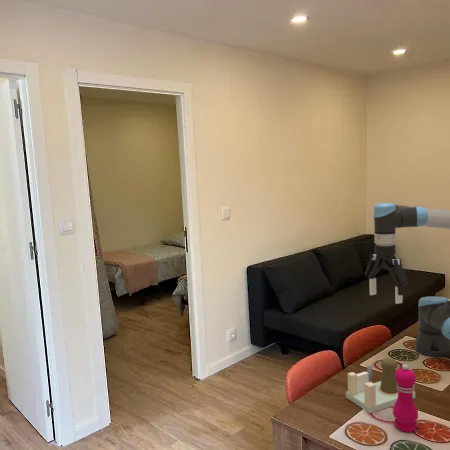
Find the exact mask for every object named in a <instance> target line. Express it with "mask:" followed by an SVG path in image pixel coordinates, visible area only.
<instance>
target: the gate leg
mask: <svg viewBox="0 0 450 450" xmlns="http://www.w3.org/2000/svg"><path fill="white" fill-rule="evenodd" d="M368 382H369V373H367V371H362V372H359V373H355V372H353V371H352V372H348V373H347V391H348V393H349V394H351V395H355V394H357V393H359V392H362V391H364V383H368Z"/></svg>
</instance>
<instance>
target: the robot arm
mask: <svg viewBox="0 0 450 450" xmlns="http://www.w3.org/2000/svg"><path fill="white" fill-rule="evenodd" d="M373 207H374V208H373V222H374V223H373V224H374V226H373V227H374V244H375V245H374V254H373V253H372V254H370V255H369V261H368V263H367V266H366V269H365V272H364V276H365V277H367V278H368V286H369V296H375V295H377V278H376V276H377V274H378V273H379V272H380V271H381V269H384V270H387V272H388V273H389V274H390V276H391V277H392V279H393V280H394V283H395V284H396V286H395V288H394V289H395V290H394V291H395V292H394V293H395V294H394V295H395V296H394V297H395V304H396V305H398V304H403V296H404V291H405V289H404V287H405V286H408V285H409V282H408V279H407V276H406V273H405V271H404V268H403V264H402V259H401V258H398V259H397V258H396V259H395V256H396V249H397V248H396V245H395V244H396V243H397V242H396V239H397V238H396V229H401V228H418V227H426V228H434V229H435V228H436V229H444V230H445V229H446V230H450V210H444V209H436V208H428V207H427V208H426V207H423V206H410V205H409V206H408V205H400V204H395V203H393V202H390V203H389V202H385V203H383V202H381V203H376V204H375V205H374V206H373ZM417 307H418V332H417V335H416V337H415V341H414V344H413V347H414V348H413V349H414V350H415V352H417V353H418V354H421V355H423V356H427V357H432V358H434V357H435V358H447V357H449V356H450V298H448V297H444V296H433V295H432V296H423V297H420V299H419V300H418V305H417Z"/></svg>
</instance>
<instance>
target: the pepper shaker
mask: <svg viewBox="0 0 450 450" xmlns="http://www.w3.org/2000/svg"><path fill="white" fill-rule="evenodd" d="M380 361H381V362H380V364H381V368H382V371H381V380H380V381H381V386H380V390H381V391H382V392H384V393H387V394H395V393H398V390H397V388H396V387H397V385H396V384H397V382H396V380H395V373H396V371H397V370H396V369H397V367H398V363H397V361H396V360H395V359H394V358H390V357H385V358H383V359H381V360H380Z"/></svg>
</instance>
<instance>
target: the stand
mask: <svg viewBox="0 0 450 450" xmlns="http://www.w3.org/2000/svg"><path fill="white" fill-rule="evenodd" d="M366 368H367V369H366V370H367V371H366V372H367V373H369V382H368V383H364V391H362V392H359V393H357V394H355V395H351V394H349V393H348V390H347V391H345V398H346V399H348V400H350V402H352V403H354V404H355V405H357V406H358V407H360V408H362V409H363V410H364V411H366V412H368V413H369V414H372V413H375V412H378V411H381V410H384V409H387V408H390V407H394V404H395V402H396V400H397V398H398V393H395V394H387V393H384V392H382V391H381V390H380V386H381V380H380V381H377V382H373V366H372V365H367V367H366ZM412 395H413V400H414V399H416V392H415V390H414V391H413V394H412Z"/></svg>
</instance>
